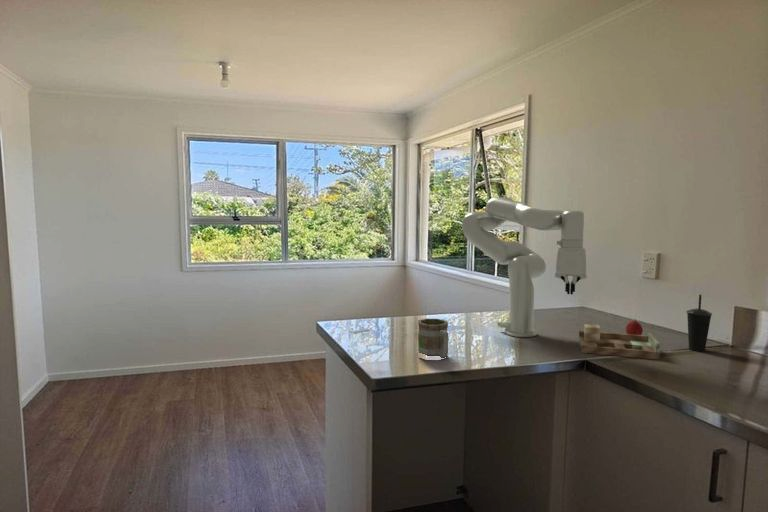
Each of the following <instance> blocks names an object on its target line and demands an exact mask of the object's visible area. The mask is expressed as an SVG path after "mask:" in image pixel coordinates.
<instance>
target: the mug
mask: <svg viewBox="0 0 768 512" xmlns="http://www.w3.org/2000/svg"><path fill="white" fill-rule="evenodd" d="M417 324H418V326H417V327H418V334H417V342H418V344H417V345H418V346H417V347H418V349H417V350H418V351H419V353H422V354H425V355H427V356H440V357H441V358H445V357H448V355H449V340H450V339H449V338H450V337H449V333H448V327H449V323H448V320H445V319H441V318H424V319H419V320H417ZM418 351H417V352H418Z"/></svg>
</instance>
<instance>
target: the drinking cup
mask: <svg viewBox="0 0 768 512" xmlns="http://www.w3.org/2000/svg"><path fill="white" fill-rule="evenodd" d="M701 307H702V294H699V295H698V308H691V309H688V310H686V313H687V332H688V333H687V334H688V349H689V350H691V351H694V352H699V353H700V352H705V351H706V348H707V342H708V335H709V331H710V324H711V317H712V316H713V313H712V312H710V311H708V310H706V309H703V308H701Z"/></svg>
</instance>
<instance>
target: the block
mask: <svg viewBox="0 0 768 512" xmlns="http://www.w3.org/2000/svg"><path fill="white" fill-rule="evenodd" d="M583 331H584V340H585V341H596V342H600V332H601V327H600V325H599V324H589V323H584V324H583Z"/></svg>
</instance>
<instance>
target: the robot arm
mask: <svg viewBox="0 0 768 512" xmlns="http://www.w3.org/2000/svg"><path fill="white" fill-rule="evenodd" d="M507 221H508V222H512V223H516V224H518V225H521V226H523V227H526V228H529V229H534V230H538V231H545V232H546V231H559V230H560V231H561V233H560V235H561V236H560V240H557V241H556V246H559V247H558V248H557V256H556V263H555V266H556V267H555V269H556V270H555V274H554V277H555V278H557V279H560V280H562V281H563V282H564V285H565V289H564V290H565V293H566V294H567V295H574V293H575V292H576V284H577V283H578V282H579V281H580V280H584V279H587V278H588V277H587V254H586V248H584V247H583V246H584V226H585V223H584V222H585V214H584V211H582V210H561V209H560V210H557V209H554V210H553V209H540V208H535V207H531V206H528V205H527V203H526V202H524V201H518V200H514V199H513V198H511V197H506V196H505V197H501V196H498V197H491V198H490V199H489V200H488V201H487V202H486V204H485V211H472V212H469V213H467V214H465V216H463V218H462V220H461V228H462V233H463V235H464V237H465V238H466V239H467V241H469V243H470V244H471V245H473V246H474V247H475V248H477V249H479V250H480V251H481V252H483V254H485V255H486V256H487V257H489V258H490V259H492V260H493V261H494V262H496V263H497V264H499V265H507V275H508V281H509V283H508V285H509V292H508V293H509V294H508V295H509V299H508V300H509V303H508V306H509V307H508V309H509V311H508V321H505V322H503V321H498V322H497V327H499V328H503V329H504V328H505V329H504V334H506V335H507V336H510V337H517V338H532V337H536V336H537V335H538V331H537V330H536V329H534V306H535V305H534V304H535V287H534V283H533V279H536V278H539V277H541V276H542V275H544V273H545V272H546V269H547V268H546V267H547V265H546V262H545V260H544V258H543V257H541V255H540V254H538V253H536V252H535V251H533V250H532V249H531V248H529V247H527V246H526V245H524V244H523V243H521V242H519V241H513V240H512V241H510V240H509V241H504V240H502V239H501V238H499V237H498V236H497V235H495V234H493V233H491V232H489V231H493V230H495V229H497V228H498V227H500V226H501V225H502V224H504V223H506V222H507ZM569 277H572V280H571V282H570V280H569Z"/></svg>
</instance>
